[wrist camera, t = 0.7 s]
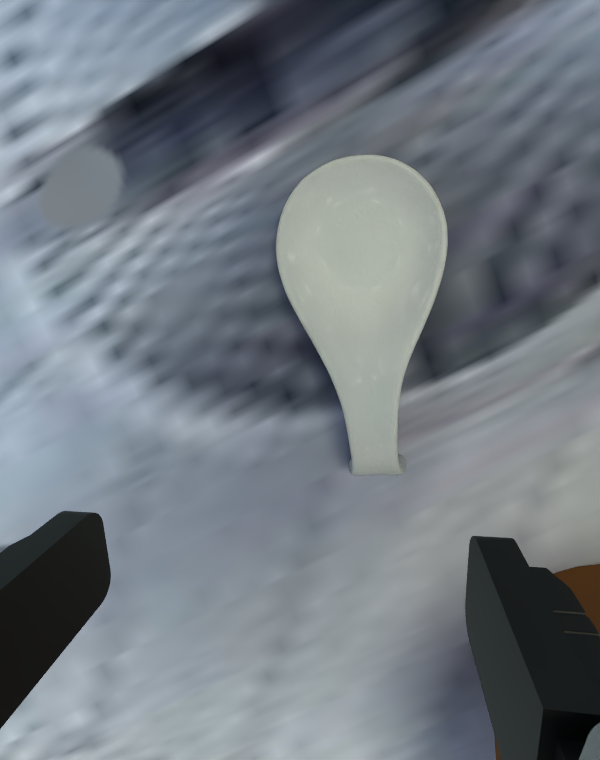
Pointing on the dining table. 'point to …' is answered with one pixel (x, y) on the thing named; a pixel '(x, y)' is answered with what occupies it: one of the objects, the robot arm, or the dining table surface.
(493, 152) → the dining table surface
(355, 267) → the spoon rest
